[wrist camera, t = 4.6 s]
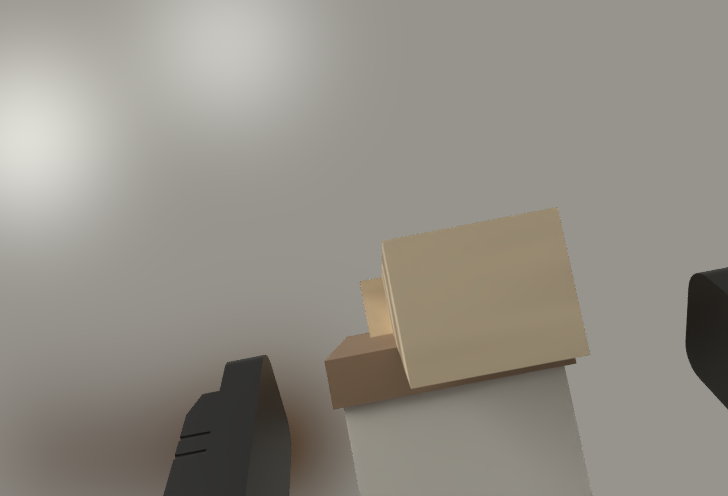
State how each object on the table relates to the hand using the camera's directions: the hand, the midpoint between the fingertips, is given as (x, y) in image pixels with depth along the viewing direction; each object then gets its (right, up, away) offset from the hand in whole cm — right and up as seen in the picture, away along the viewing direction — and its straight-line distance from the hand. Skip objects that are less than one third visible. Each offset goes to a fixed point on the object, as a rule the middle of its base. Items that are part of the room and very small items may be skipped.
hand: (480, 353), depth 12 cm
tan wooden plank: (0, -1, +9) cm, 9 cm away
